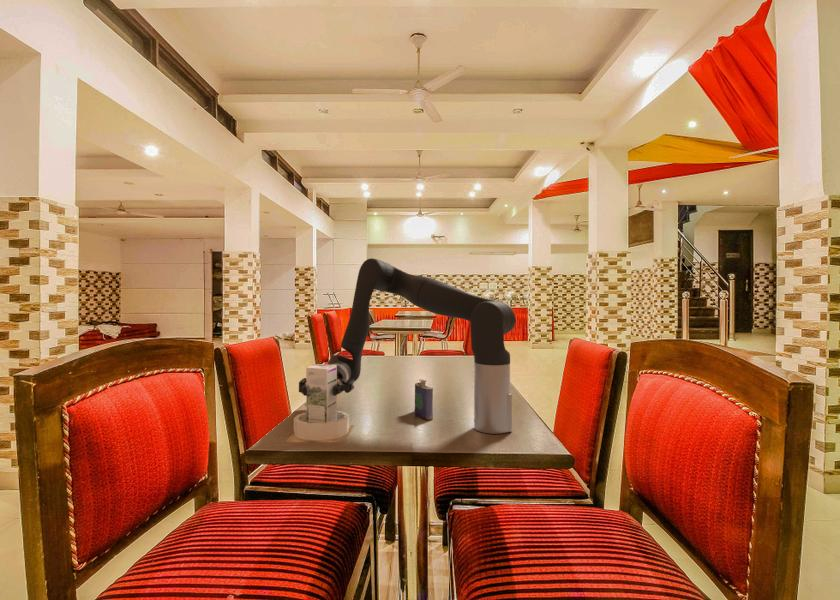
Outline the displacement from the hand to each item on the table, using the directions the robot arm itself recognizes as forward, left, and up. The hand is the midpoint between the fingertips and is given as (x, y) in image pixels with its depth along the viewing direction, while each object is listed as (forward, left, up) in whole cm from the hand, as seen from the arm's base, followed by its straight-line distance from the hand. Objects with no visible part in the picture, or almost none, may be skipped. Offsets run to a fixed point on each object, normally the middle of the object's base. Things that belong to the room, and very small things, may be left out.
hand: (319, 391), depth 108 cm
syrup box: (0, -2, -9) cm, 9 cm away
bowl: (0, -2, -11) cm, 11 cm away
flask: (-25, -20, -12) cm, 34 cm away
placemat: (0, -2, -11) cm, 11 cm away
